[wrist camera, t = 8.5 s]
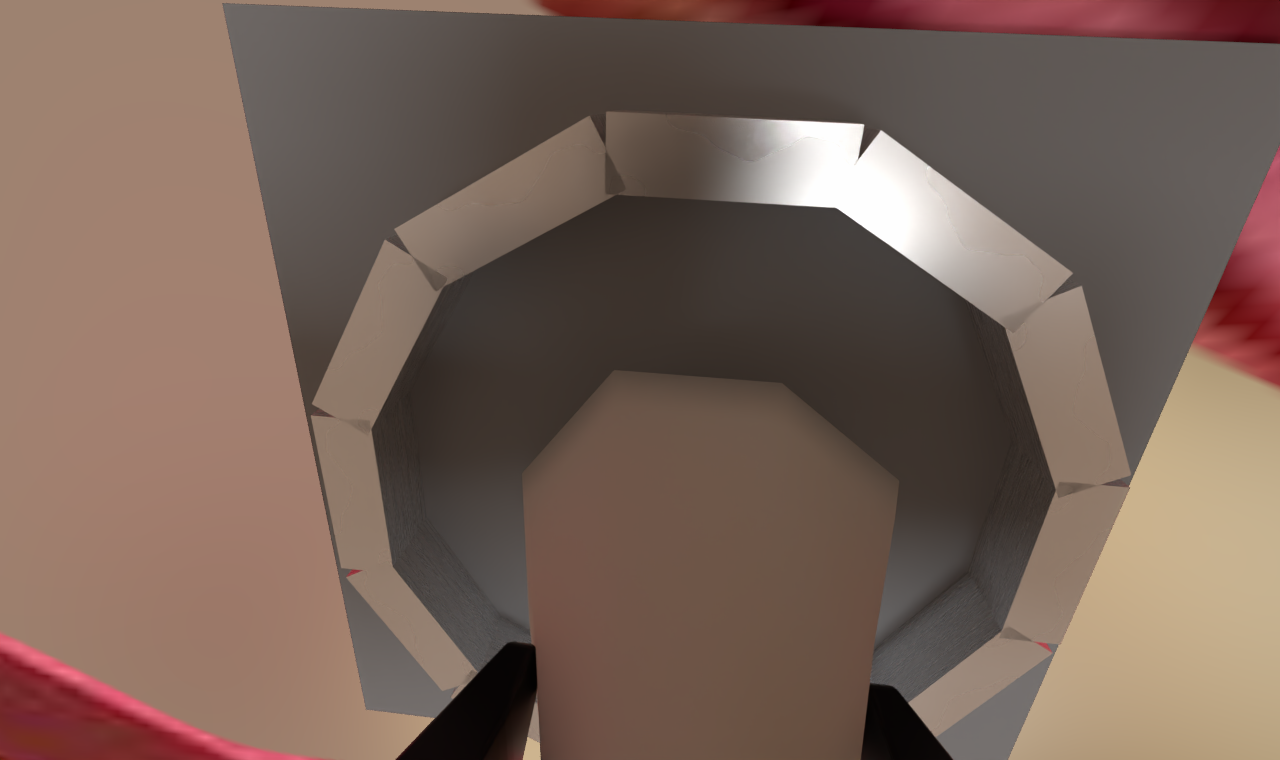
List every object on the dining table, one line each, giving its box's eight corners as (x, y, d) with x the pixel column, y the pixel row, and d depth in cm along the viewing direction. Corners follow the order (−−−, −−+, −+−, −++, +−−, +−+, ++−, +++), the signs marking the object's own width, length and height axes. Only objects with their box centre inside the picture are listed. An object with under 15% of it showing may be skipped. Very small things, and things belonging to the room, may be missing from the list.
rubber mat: (1280, 50, 10) (1323, 45, 10) (983, 759, 18) (995, 787, 17) (253, 9, 12) (222, 3, 11) (379, 686, 19) (365, 709, 18)
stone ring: (1190, 137, 10) (1281, 145, 9) (956, 746, 17) (983, 817, 15) (313, 94, 11) (246, 93, 10) (406, 681, 18) (375, 740, 16)
